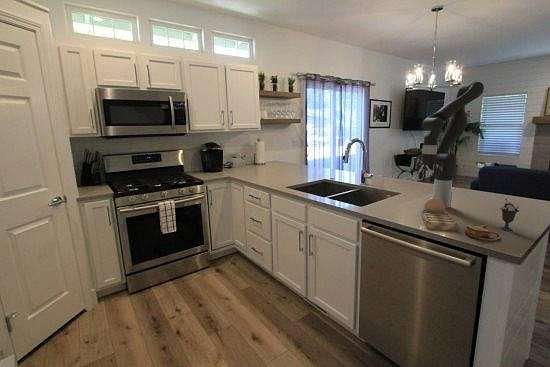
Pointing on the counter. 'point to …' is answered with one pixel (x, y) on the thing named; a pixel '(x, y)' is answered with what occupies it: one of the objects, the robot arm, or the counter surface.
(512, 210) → the sundae
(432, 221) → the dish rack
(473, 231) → the toy sandwich meal
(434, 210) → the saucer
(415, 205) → the counter surface
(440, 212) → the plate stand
